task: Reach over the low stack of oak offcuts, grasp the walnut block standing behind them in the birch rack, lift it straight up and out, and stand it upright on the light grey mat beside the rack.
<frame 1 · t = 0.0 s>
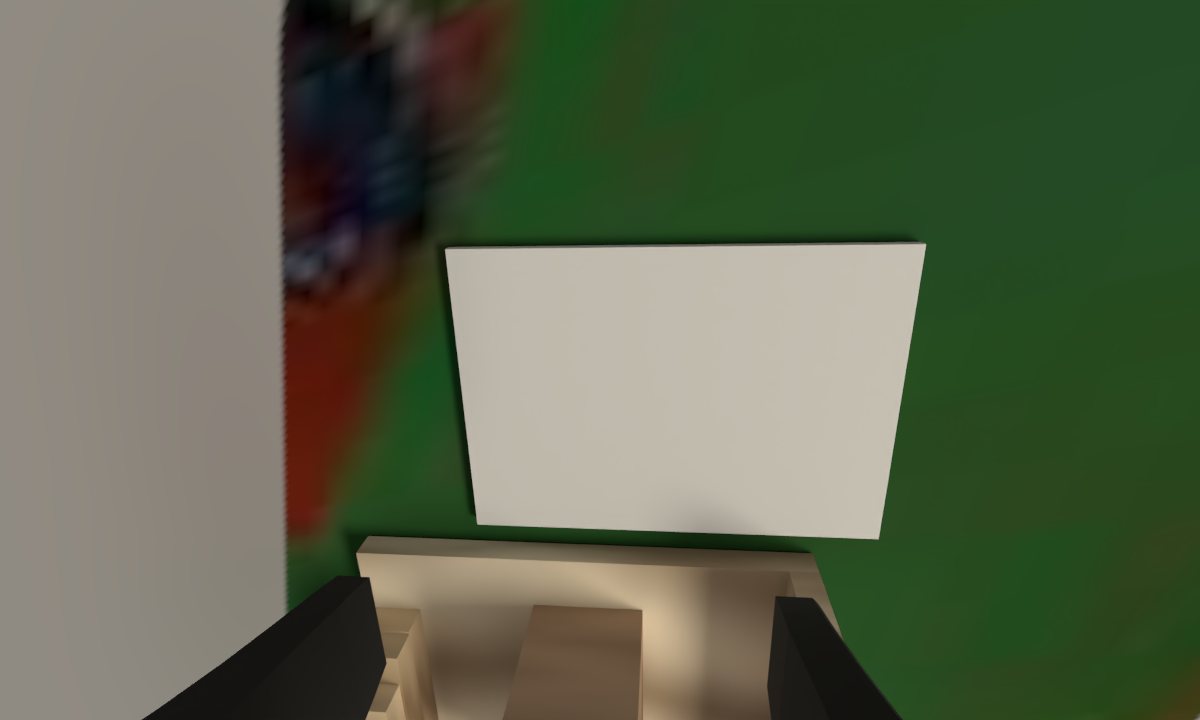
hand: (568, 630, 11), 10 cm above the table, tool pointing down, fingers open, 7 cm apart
grey mat: (673, 396, 20), on the table
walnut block: (591, 688, 23), point 1 cm above the table, touching birch rack
birch rack: (569, 666, 24), on the table
offcut stack: (410, 677, 24), point 1 cm above the table, touching birch rack
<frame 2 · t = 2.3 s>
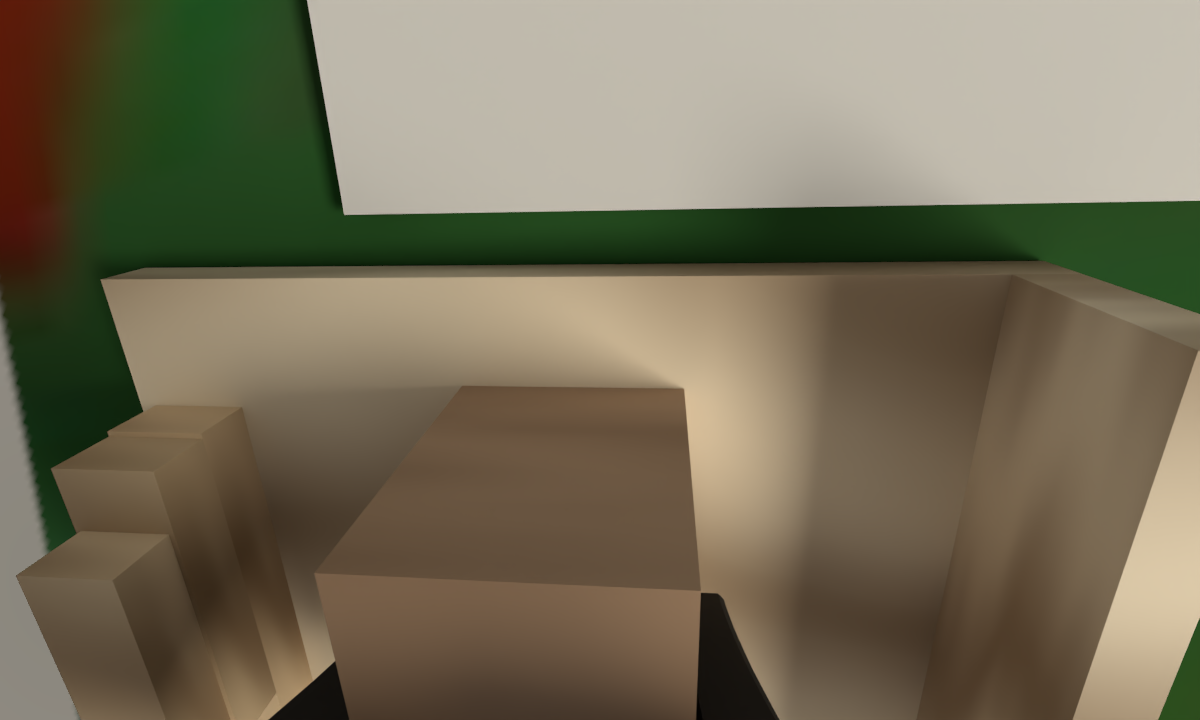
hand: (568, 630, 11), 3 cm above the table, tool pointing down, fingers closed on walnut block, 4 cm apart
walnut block: (579, 569, 12), point 1 cm above the table, touching birch rack, gripper
birch rack: (540, 536, 13), on the table
offcut stack: (241, 555, 13), point 1 cm above the table, touching birch rack
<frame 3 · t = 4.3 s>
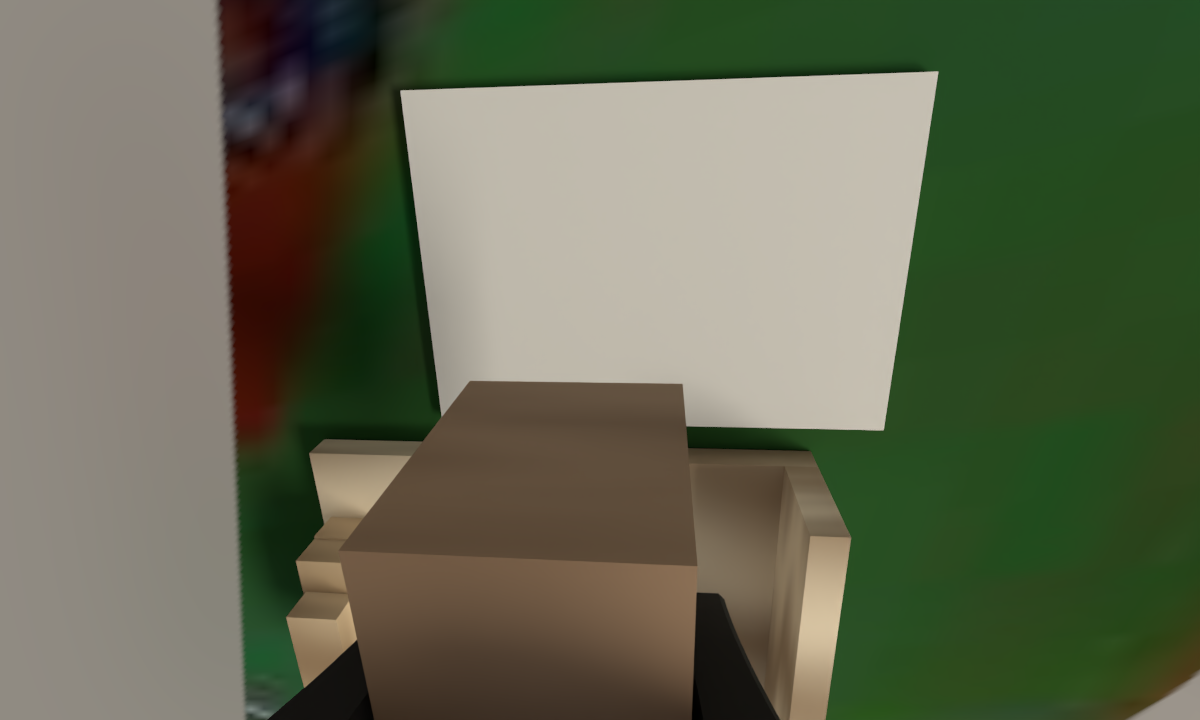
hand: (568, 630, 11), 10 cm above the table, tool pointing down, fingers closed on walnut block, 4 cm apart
grey mat: (656, 267, 18), on the table
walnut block: (581, 558, 13), point 7 cm above the table, touching gripper
birch rack: (545, 588, 22), on the table
offcut stack: (371, 598, 22), point 1 cm above the table, touching birch rack
when the fingers open (3 cm above the table, at t = 6.6 s): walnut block stays where it is, resting on grey mat.
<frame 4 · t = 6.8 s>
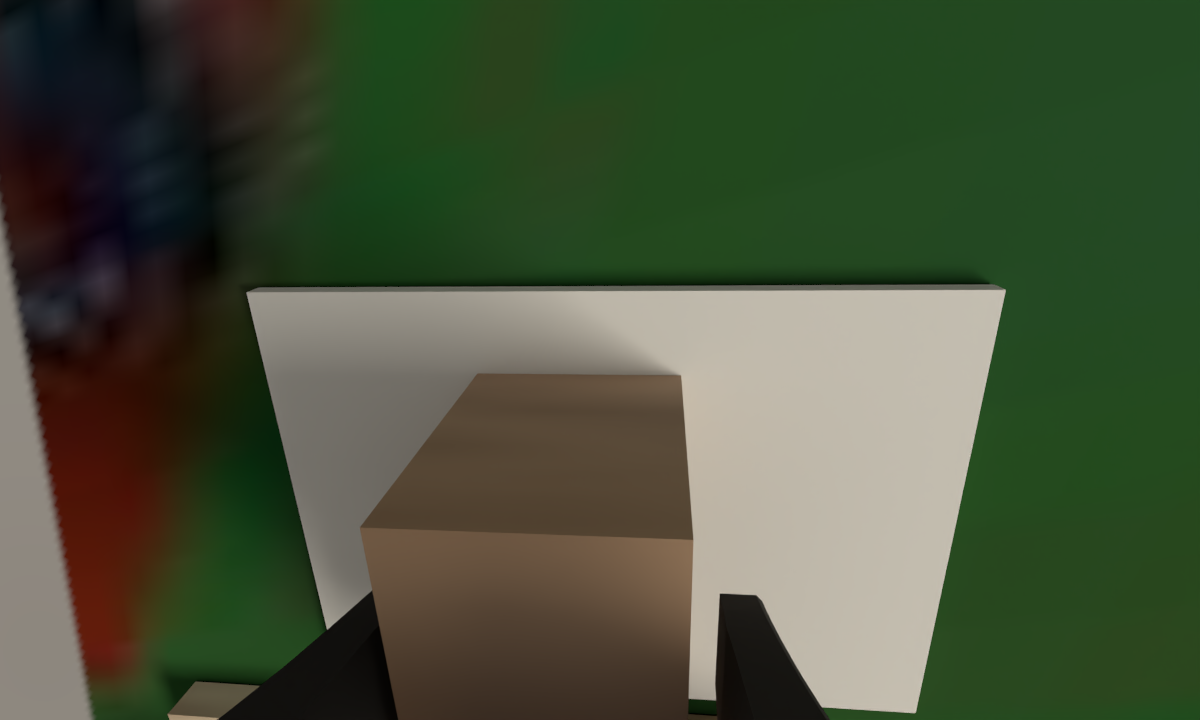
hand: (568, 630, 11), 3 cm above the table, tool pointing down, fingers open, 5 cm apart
grey mat: (609, 509, 13), on the table
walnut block: (585, 544, 13), resting on grey mat
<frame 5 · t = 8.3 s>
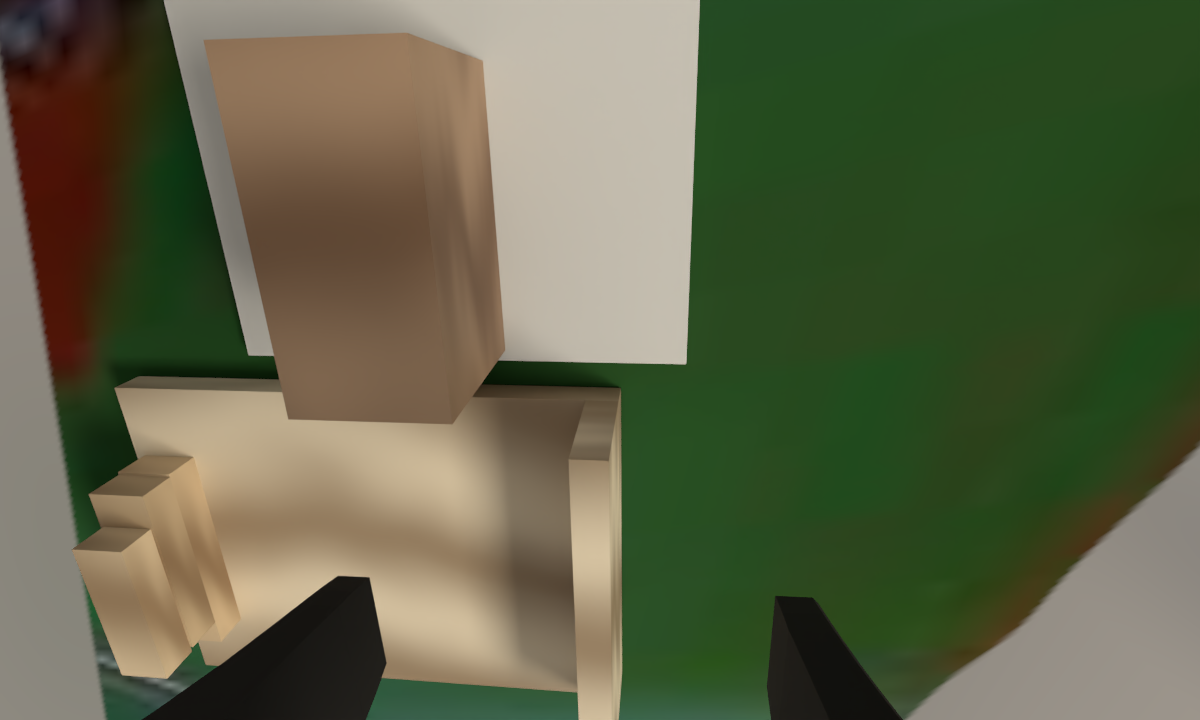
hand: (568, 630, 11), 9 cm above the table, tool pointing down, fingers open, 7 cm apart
grey mat: (446, 192, 17), on the table
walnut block: (426, 217, 17), resting on grey mat
birch rack: (375, 532, 22), on the table
offcut stack: (195, 541, 22), point 1 cm above the table, touching birch rack
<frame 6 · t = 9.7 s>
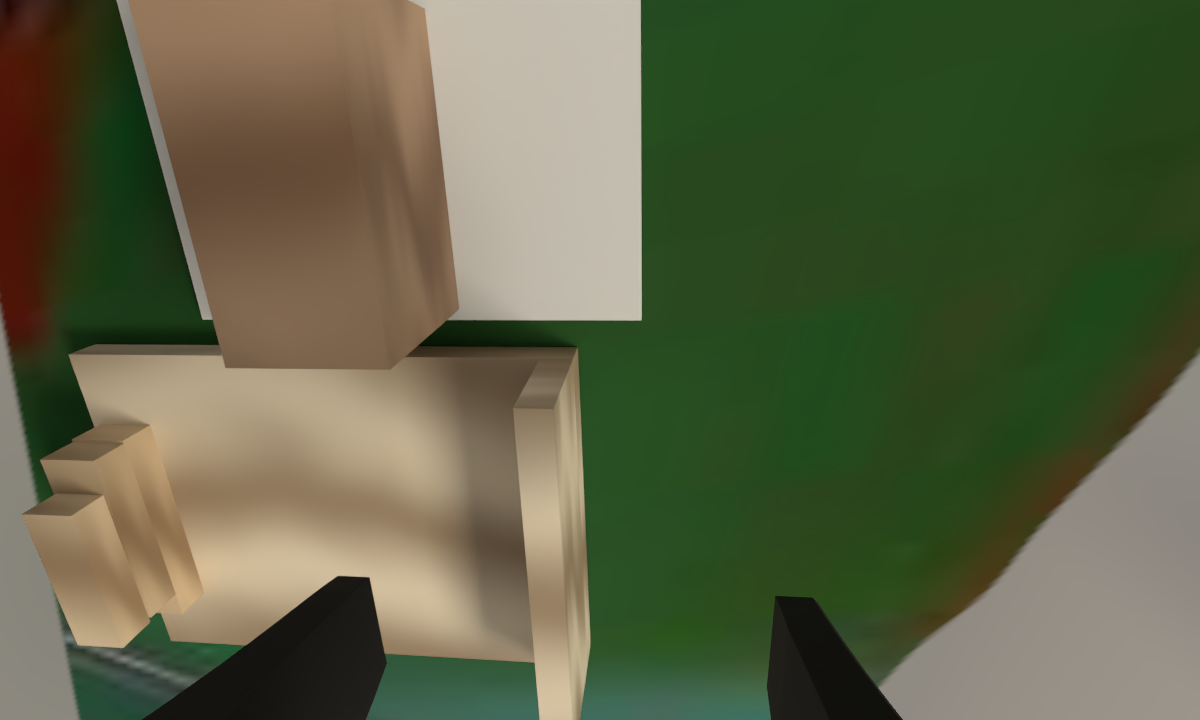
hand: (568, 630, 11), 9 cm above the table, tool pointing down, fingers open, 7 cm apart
grey mat: (395, 147, 17), on the table
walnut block: (375, 173, 17), resting on grey mat
birch rack: (337, 502, 22), on the table
offcut stack: (155, 512, 22), point 1 cm above the table, touching birch rack
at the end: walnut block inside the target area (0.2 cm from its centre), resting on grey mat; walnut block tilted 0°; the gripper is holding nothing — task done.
